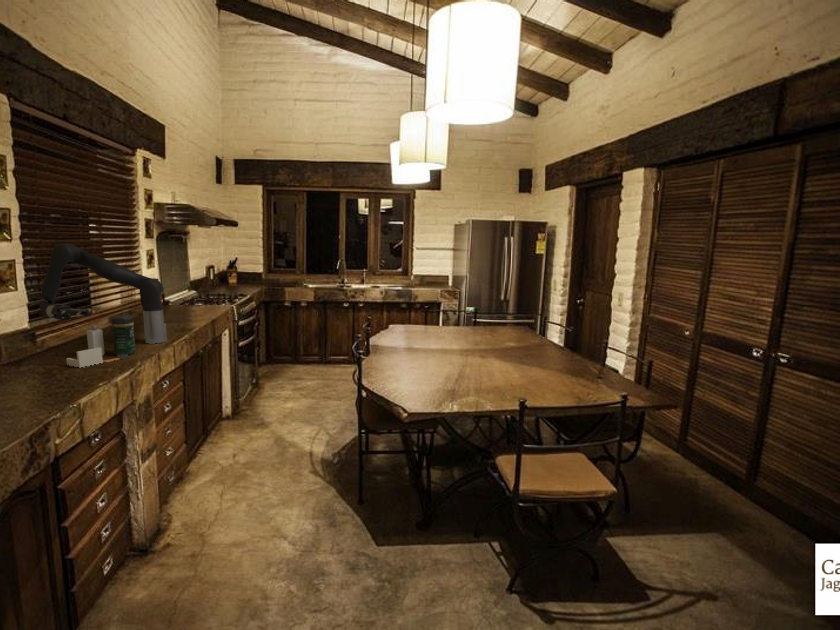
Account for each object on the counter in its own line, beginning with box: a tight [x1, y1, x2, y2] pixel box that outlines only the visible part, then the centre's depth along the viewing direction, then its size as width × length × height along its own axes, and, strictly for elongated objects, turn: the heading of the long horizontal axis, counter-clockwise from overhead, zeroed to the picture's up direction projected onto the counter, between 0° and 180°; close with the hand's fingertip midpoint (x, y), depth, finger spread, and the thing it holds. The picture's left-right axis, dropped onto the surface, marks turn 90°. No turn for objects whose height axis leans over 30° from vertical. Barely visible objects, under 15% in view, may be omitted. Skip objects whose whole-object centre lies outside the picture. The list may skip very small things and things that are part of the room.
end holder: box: [65, 347, 104, 369], centre depth 208 cm, size 10×9×7 cm
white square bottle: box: [86, 325, 106, 356], centre depth 224 cm, size 4×4×14 cm
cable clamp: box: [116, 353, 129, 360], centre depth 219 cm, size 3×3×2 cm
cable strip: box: [103, 357, 122, 363], centre depth 215 cm, size 10×5×1 cm, turn 154°
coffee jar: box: [111, 314, 137, 356], centre depth 226 cm, size 10×8×19 cm
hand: (79, 315), depth 226 cm, fingers open, 8 cm apart
